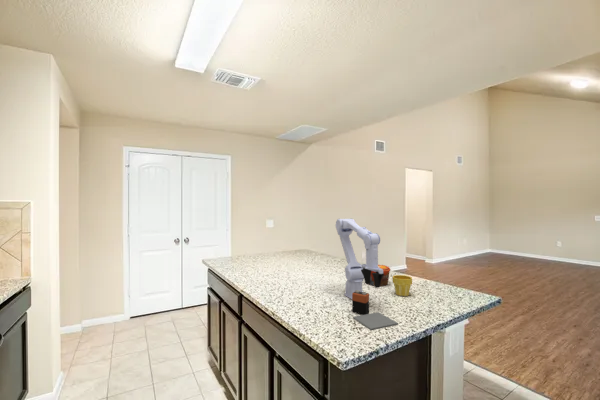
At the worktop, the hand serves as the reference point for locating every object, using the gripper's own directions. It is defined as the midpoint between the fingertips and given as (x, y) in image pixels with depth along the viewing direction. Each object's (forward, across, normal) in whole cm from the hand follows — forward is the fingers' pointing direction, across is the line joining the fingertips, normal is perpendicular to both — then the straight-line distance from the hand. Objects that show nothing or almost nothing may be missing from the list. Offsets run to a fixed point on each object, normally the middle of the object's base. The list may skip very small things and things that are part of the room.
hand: (372, 285), depth 141 cm
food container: (+10, -32, +28) cm, 44 cm away
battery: (+11, +4, -10) cm, 15 cm away
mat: (+11, +15, -10) cm, 21 cm away
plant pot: (+10, -9, +27) cm, 30 cm away
